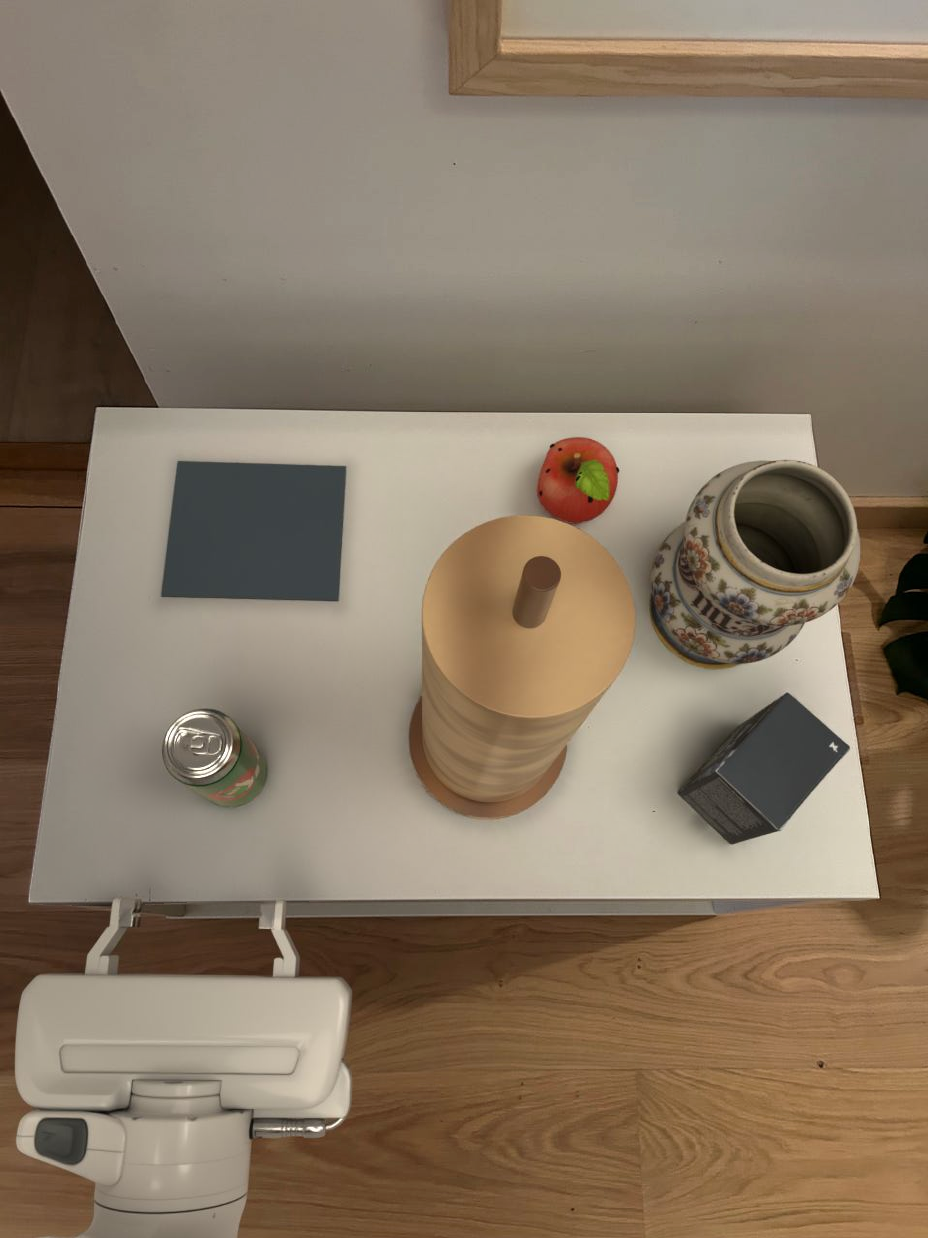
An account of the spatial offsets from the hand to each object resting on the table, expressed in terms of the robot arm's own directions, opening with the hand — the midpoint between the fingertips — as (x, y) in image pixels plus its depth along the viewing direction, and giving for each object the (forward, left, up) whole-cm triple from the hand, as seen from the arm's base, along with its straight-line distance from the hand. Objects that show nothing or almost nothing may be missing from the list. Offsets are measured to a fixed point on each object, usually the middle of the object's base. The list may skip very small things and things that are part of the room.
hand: (201, 899), depth 61 cm
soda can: (0, +9, -7) cm, 11 cm away
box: (+38, +9, -7) cm, 40 cm away
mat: (0, +29, -7) cm, 30 cm away
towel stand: (+19, +12, -7) cm, 24 cm away
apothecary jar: (+37, +23, -7) cm, 44 cm away
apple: (+26, +32, -7) cm, 42 cm away
